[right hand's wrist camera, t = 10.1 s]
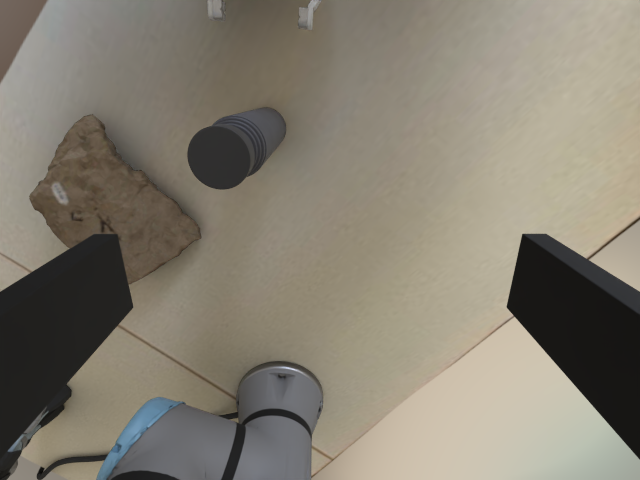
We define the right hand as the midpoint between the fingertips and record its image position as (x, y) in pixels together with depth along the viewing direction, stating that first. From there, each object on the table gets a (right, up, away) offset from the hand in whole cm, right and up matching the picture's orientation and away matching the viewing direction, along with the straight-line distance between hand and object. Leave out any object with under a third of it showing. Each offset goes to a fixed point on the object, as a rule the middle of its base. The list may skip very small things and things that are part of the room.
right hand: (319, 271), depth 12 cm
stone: (-28, +6, +41) cm, 50 cm away
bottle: (-7, +16, +37) cm, 41 cm away
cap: (-7, +7, +14) cm, 17 cm away
